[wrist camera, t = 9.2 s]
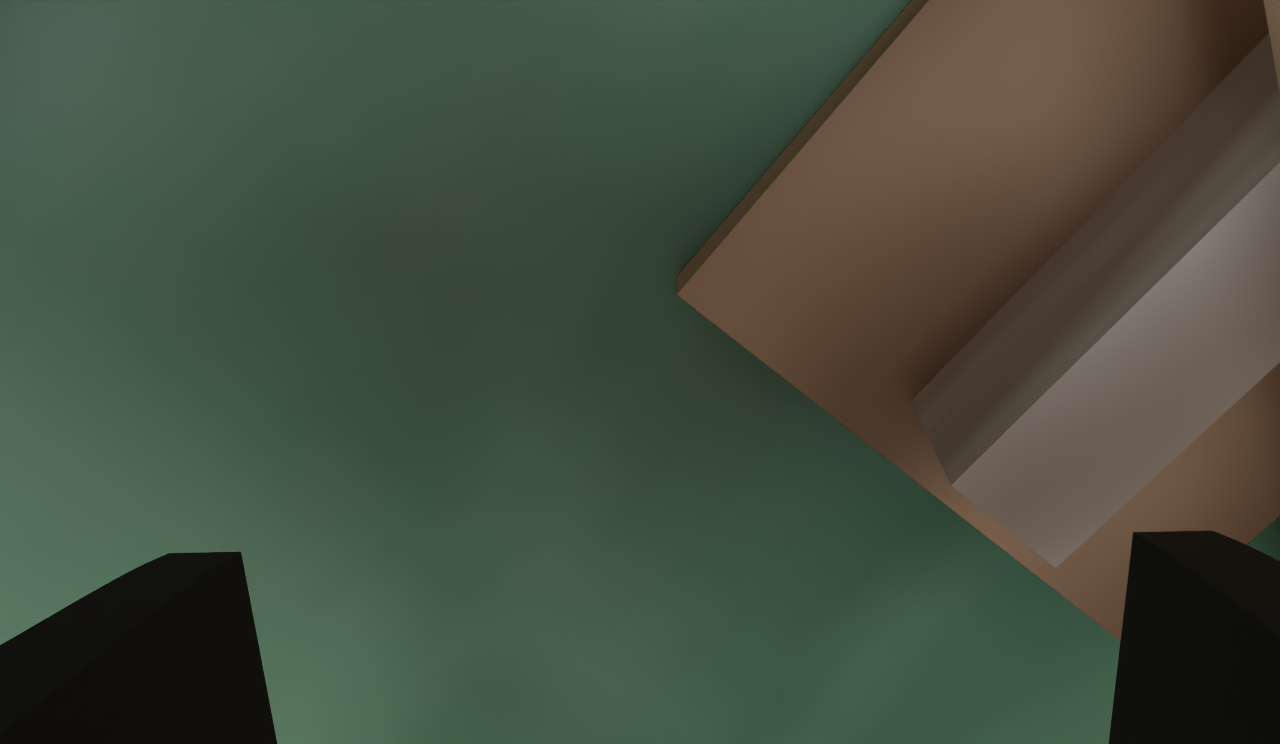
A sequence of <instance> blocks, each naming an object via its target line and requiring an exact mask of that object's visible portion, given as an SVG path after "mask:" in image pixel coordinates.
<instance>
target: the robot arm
mask: <svg viewBox="0 0 1280 744" xmlns="http://www.w3.org/2000/svg"><path fill="white" fill-rule="evenodd" d="M0 744H277V740H276V735H275V730H274V724H273V719H272V714H271V709H270V703H269V698H268V693H267V687H266V682H265V677H264V671H263V666H262V661H261V656H260V650H259V645H258V640H257V634H256V629H255V624H254V618H253V613H252V608H251V603H250V597H249V592H248V587H247V581H246V576H245V571H244V565H243V560H242V555H241V552H209V553H169V554H166V555H164V556H162V557H160V558H157V559H155V560H153V561H150V562H148V563H146V564H144V565H142V566H140V567H138V568H136V569H134V570H132V571H130V572H128V573H126V574H124V575H122V576H120V577H119V578H117V579H115V580H113V581H111V582H109V583H108V584H106V585H104V586H102V587H100V588H99V589H97V590H95V591H93V592H92V593H90V594H88V595H86V596H85V597H83V598H81V599H79V600H78V601H76V602H74V603H72V604H71V605H69V606H67V607H65V608H64V609H62V610H60V611H59V612H57V613H55V614H53V615H52V616H50V617H48V618H46V619H45V620H43V621H41V622H40V623H38V624H36V625H34V626H33V627H31V628H29V629H28V630H26V631H24V632H22V633H21V634H19V635H17V636H15V637H14V638H12V639H10V640H9V641H7V642H5V643H3V644H2V645H0ZM1109 744H1280V562H1279V561H1277V560H1276V559H1274V558H1272V557H1270V556H1268V555H1266V554H1264V553H1262V552H1260V551H1258V550H1256V549H1254V548H1252V547H1250V546H1248V545H1245V544H1243V543H1241V542H1239V541H1237V540H1235V539H1232V538H1230V537H1227V536H1225V535H1222V534H1220V533H1218V532H1215V531H1212V530H1208V531H1163V532H1133V537H1132V546H1131V555H1130V563H1129V572H1128V581H1127V590H1126V598H1125V607H1124V616H1123V624H1122V633H1121V642H1120V651H1119V659H1118V668H1117V677H1116V686H1115V694H1114V703H1113V712H1112V720H1111V729H1110V738H1109Z"/></svg>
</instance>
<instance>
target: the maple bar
mask: <svg viewBox="0 0 1280 744" xmlns="http://www.w3.org/2000/svg"><path fill="white" fill-rule="evenodd" d="M1264 6H1265V12H1266V17H1267V23H1268V29H1269V35H1270V40H1271V46H1272V52H1273V57H1274V63H1275V69H1276V74H1277V80H1278V86H1279V91H1280V0H1264Z"/></svg>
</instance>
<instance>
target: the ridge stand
mask: <svg viewBox="0 0 1280 744" xmlns="http://www.w3.org/2000/svg"><path fill="white" fill-rule="evenodd" d="M677 295H678V296H679V297H680V298H682V299H683V300H684V301H686V302H687V303H688V304H689V305H691V306H692V307H693V308H695V309H696V310H697V311H698V312H700V313H701V314H702V315H703V316H705V317H706V318H707V319H709V320H710V321H711V322H712V323H714V324H715V325H716V326H718V327H719V328H720V329H721V330H723V331H724V332H725V333H727V334H728V335H729V336H730V337H732V338H733V339H734V340H735V341H737V342H738V343H739V344H741V345H742V346H743V347H744V348H746V349H747V350H748V351H750V352H751V353H752V354H753V355H755V356H756V357H757V358H759V359H760V360H761V361H762V362H764V363H765V364H766V365H768V366H769V367H770V368H771V369H773V370H774V371H775V372H776V373H778V374H779V375H780V376H782V377H783V378H784V379H785V380H787V381H788V382H789V383H791V384H792V385H793V386H794V387H796V388H797V389H798V390H800V391H801V392H802V393H803V394H805V395H806V396H807V397H808V398H810V399H811V400H812V401H814V402H815V403H816V404H817V405H819V406H820V407H821V408H823V409H824V410H825V411H826V412H828V413H829V414H830V415H832V416H833V417H834V418H835V419H837V420H838V421H839V422H840V423H842V424H843V425H844V426H846V427H847V428H848V429H849V430H851V431H852V432H853V433H855V434H856V435H857V436H858V437H860V438H861V439H862V440H864V441H865V442H866V443H867V444H869V445H870V446H871V447H873V448H874V449H875V450H876V451H878V452H879V453H880V454H881V455H883V456H884V457H885V458H887V459H888V460H889V461H890V462H892V463H893V464H894V465H896V466H897V467H898V468H899V469H901V470H902V471H903V472H905V473H906V474H907V475H908V476H910V477H911V478H912V479H913V480H915V481H916V482H917V483H919V484H920V485H921V486H922V487H924V488H925V489H926V490H928V491H929V492H930V493H931V494H933V495H934V496H935V497H937V498H938V499H939V500H940V501H942V502H943V503H944V504H945V505H947V506H948V507H949V508H951V509H952V510H953V511H954V512H956V513H957V514H958V515H960V516H961V517H962V518H963V519H965V520H966V521H967V522H969V523H970V524H971V525H972V526H974V527H975V528H976V529H978V530H979V531H980V532H981V533H983V534H984V535H985V536H986V537H988V538H989V539H990V540H992V541H993V542H994V543H995V544H997V545H998V546H999V547H1001V548H1002V549H1003V550H1004V551H1006V552H1007V553H1008V554H1010V555H1011V556H1012V557H1013V558H1015V559H1016V560H1017V561H1018V562H1020V563H1021V564H1022V565H1024V566H1025V567H1026V568H1027V569H1029V570H1030V571H1031V572H1033V573H1034V574H1035V575H1036V576H1038V577H1039V578H1040V579H1042V580H1043V581H1044V582H1045V583H1047V584H1048V585H1049V586H1050V587H1052V588H1053V589H1054V590H1056V591H1057V592H1058V593H1059V594H1061V595H1062V596H1063V597H1065V598H1066V599H1067V600H1068V601H1070V602H1071V603H1072V604H1074V605H1075V606H1076V607H1077V608H1079V609H1080V610H1081V611H1083V612H1084V613H1085V614H1086V615H1088V616H1089V617H1090V618H1091V619H1093V620H1094V621H1095V622H1097V623H1098V624H1099V625H1100V626H1102V627H1103V628H1104V629H1106V630H1107V631H1108V632H1109V633H1111V634H1112V635H1113V636H1115V637H1116V638H1117V639H1118V640H1120V641H1121V633H1122V624H1123V616H1124V607H1125V598H1126V590H1127V581H1128V572H1129V563H1130V555H1131V546H1132V537H1133V532H1163V531H1208V530H1212V531H1215V532H1218V533H1220V534H1222V535H1225V536H1227V537H1230V538H1232V539H1235V540H1237V541H1239V542H1241V543H1243V544H1245V545H1247V544H1248V543H1249V542H1250V541H1251V540H1252V539H1253V538H1255V537H1256V536H1257V535H1258V534H1259V533H1260V532H1262V531H1263V530H1264V529H1265V528H1266V527H1267V526H1268V525H1270V524H1271V523H1272V522H1273V521H1274V520H1275V519H1276V518H1278V517H1279V516H1280V91H1279V86H1278V80H1277V74H1276V69H1275V63H1274V57H1273V52H1272V46H1271V40H1270V35H1269V29H1268V23H1267V17H1266V12H1265V6H1264V0H912V1H911V2H910V3H909V4H908V5H907V7H906V8H905V9H904V10H903V11H902V12H901V14H900V15H899V16H898V17H897V18H896V20H895V21H894V22H893V23H892V24H891V25H890V27H889V28H888V29H887V30H886V31H885V32H884V34H883V35H882V36H881V37H880V38H879V39H878V41H877V42H876V43H875V44H874V45H873V47H872V48H871V49H870V50H869V51H868V52H867V54H866V55H865V56H864V57H863V58H862V59H861V61H860V62H859V63H858V64H857V65H856V67H855V68H854V69H853V70H852V71H851V72H850V74H849V75H848V76H847V77H846V78H845V79H844V81H843V82H842V83H841V84H840V85H839V86H838V88H837V89H836V90H835V91H834V92H833V94H832V95H831V96H830V97H829V98H828V99H827V101H826V102H825V103H824V104H823V105H822V106H821V108H820V109H819V110H818V111H817V112H816V114H815V115H814V116H813V117H812V118H811V119H810V121H809V122H808V123H807V124H806V125H805V126H804V128H803V129H802V130H801V131H800V132H799V133H798V135H797V136H796V137H795V138H794V139H793V141H792V142H791V143H790V144H789V145H788V146H787V148H786V149H785V150H784V151H783V152H782V153H781V155H780V156H779V157H778V158H777V159H776V160H775V162H774V163H773V164H772V165H771V166H770V168H769V169H768V170H767V171H766V172H765V173H764V175H763V176H762V177H761V178H760V179H759V180H758V182H757V183H756V184H755V185H754V186H753V188H752V189H751V190H750V191H749V192H748V193H747V195H746V196H745V197H744V198H743V199H742V200H741V202H740V203H739V204H738V205H737V206H736V207H735V209H734V210H733V211H732V212H731V213H730V215H729V216H728V217H727V218H726V219H725V220H724V222H723V223H722V224H721V225H720V226H719V227H718V229H717V230H716V231H715V232H714V233H713V235H712V236H711V237H710V238H709V239H708V240H707V242H706V243H705V244H704V245H703V246H702V247H701V249H700V250H699V251H698V252H697V253H696V254H695V256H694V257H693V258H692V259H691V260H690V262H689V263H688V264H687V265H686V266H685V267H684V269H683V270H682V271H681V272H680V273H679V274H678V276H677Z"/></svg>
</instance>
